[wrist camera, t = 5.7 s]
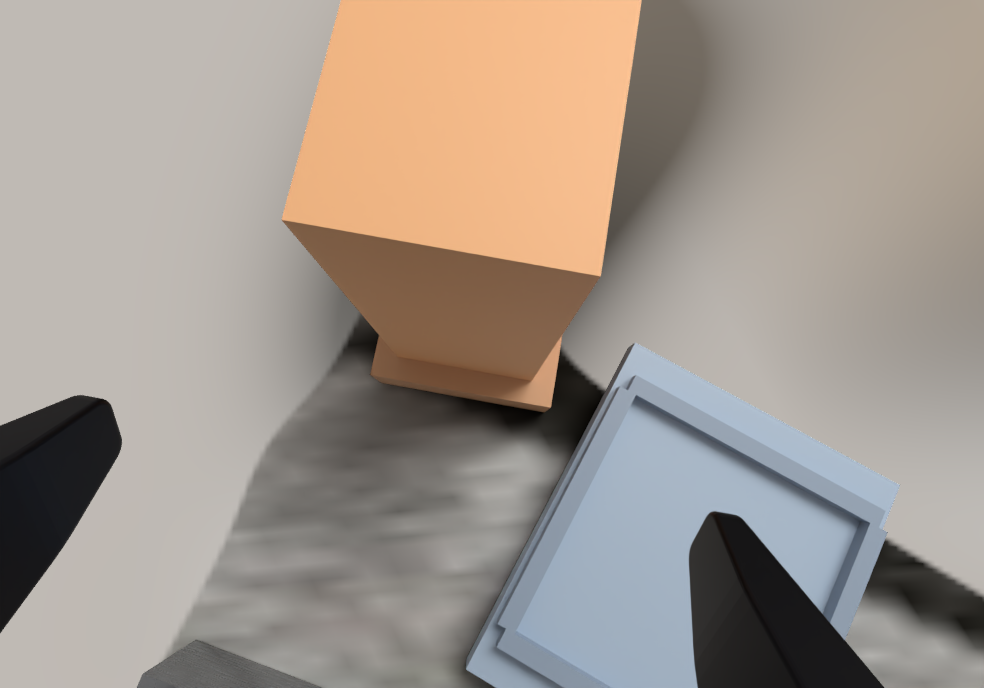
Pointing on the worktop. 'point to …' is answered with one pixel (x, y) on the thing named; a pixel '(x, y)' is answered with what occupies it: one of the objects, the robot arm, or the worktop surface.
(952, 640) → the worktop surface
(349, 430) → the worktop surface
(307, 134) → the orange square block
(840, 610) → the tray
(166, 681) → the axle mount
